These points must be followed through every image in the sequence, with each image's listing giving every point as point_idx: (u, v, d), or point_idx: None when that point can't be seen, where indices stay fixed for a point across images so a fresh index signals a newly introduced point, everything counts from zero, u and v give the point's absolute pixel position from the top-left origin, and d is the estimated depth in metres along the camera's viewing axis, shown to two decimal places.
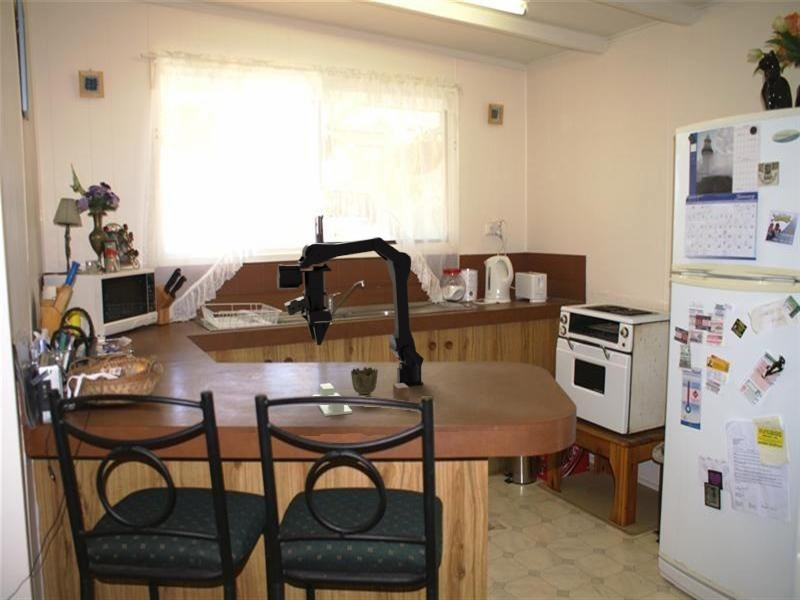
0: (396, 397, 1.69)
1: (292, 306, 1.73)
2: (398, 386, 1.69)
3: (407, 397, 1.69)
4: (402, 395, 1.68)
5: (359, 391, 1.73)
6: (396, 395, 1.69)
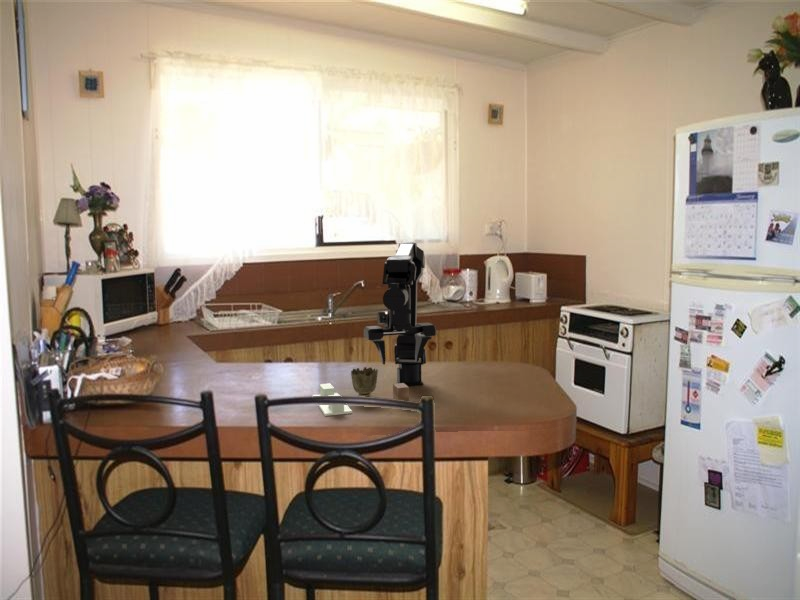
0: (396, 397, 1.69)
1: (377, 318, 1.73)
2: (398, 386, 1.69)
3: (407, 397, 1.69)
4: (402, 395, 1.68)
5: (359, 391, 1.73)
6: (396, 395, 1.69)
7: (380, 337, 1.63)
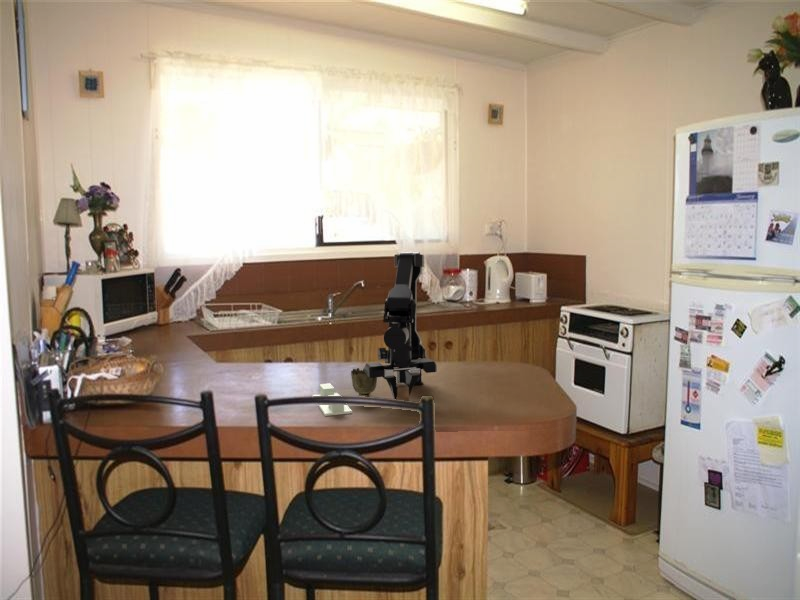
0: None
1: (378, 354, 1.74)
2: (398, 386, 1.69)
3: (407, 397, 1.69)
4: (402, 395, 1.68)
5: (359, 391, 1.73)
6: None
7: (381, 374, 1.65)
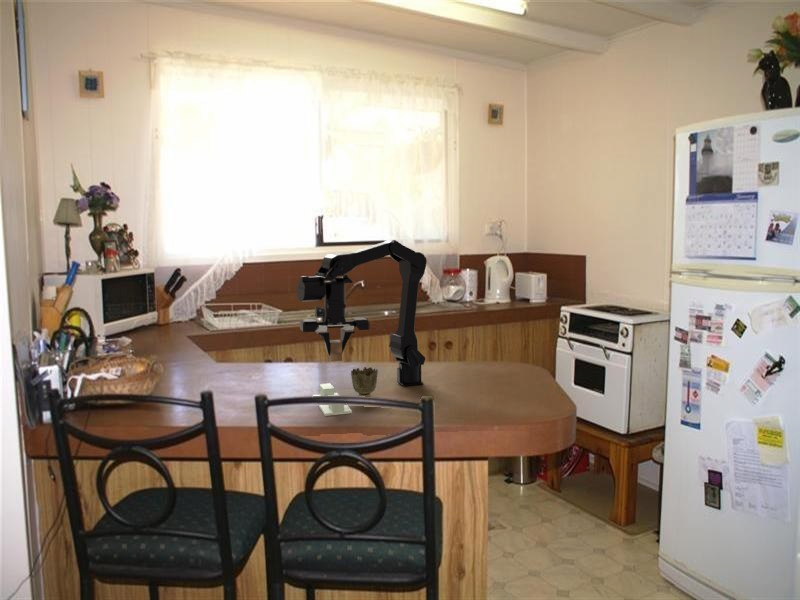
0: (330, 352, 1.76)
1: (315, 312, 1.81)
2: (332, 342, 1.76)
3: (340, 352, 1.75)
4: (335, 350, 1.75)
5: (359, 391, 1.73)
6: (330, 350, 1.76)
7: (314, 329, 1.72)
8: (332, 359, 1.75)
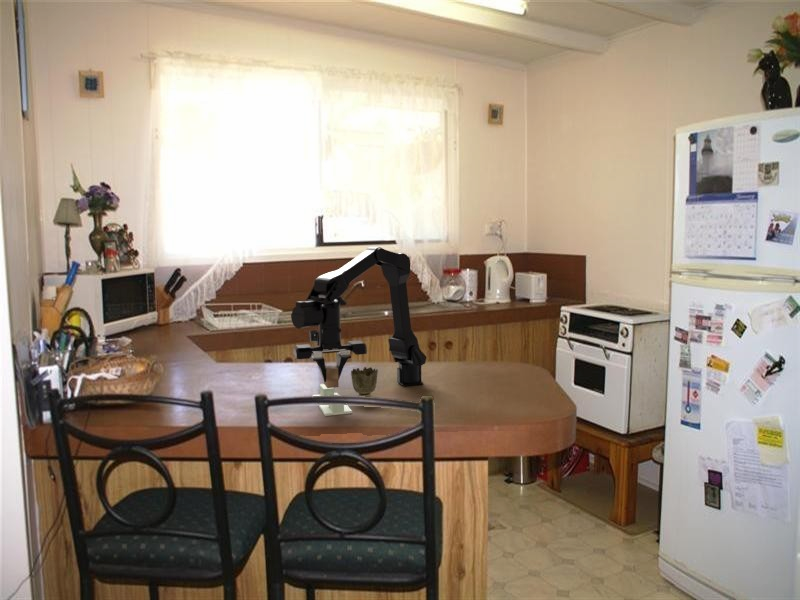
0: (326, 378, 1.68)
1: (309, 336, 1.73)
2: (328, 368, 1.68)
3: (336, 379, 1.67)
4: (331, 377, 1.67)
5: (359, 391, 1.73)
6: None
7: (308, 356, 1.63)
8: (328, 386, 1.67)
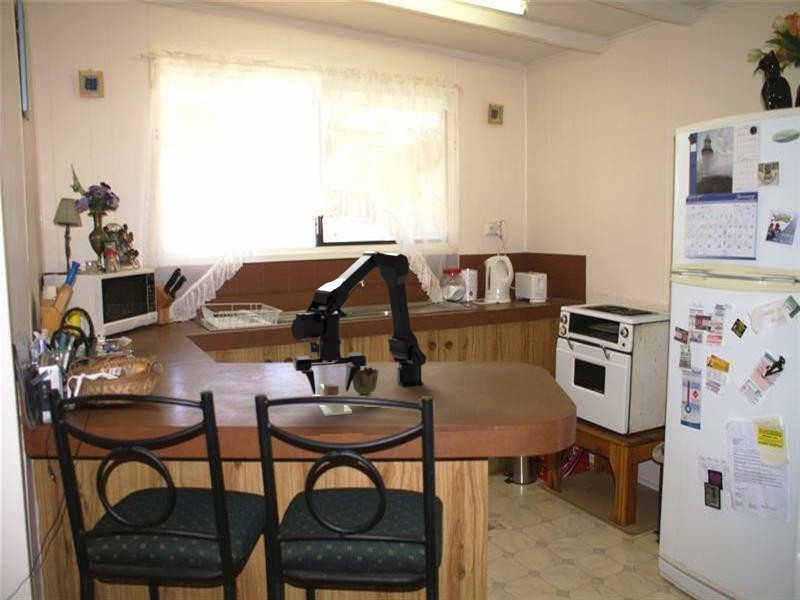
0: None
1: (309, 347, 1.73)
2: (328, 385, 1.68)
3: None
4: (332, 394, 1.67)
5: (359, 391, 1.73)
6: (326, 394, 1.69)
7: (308, 368, 1.64)
8: None
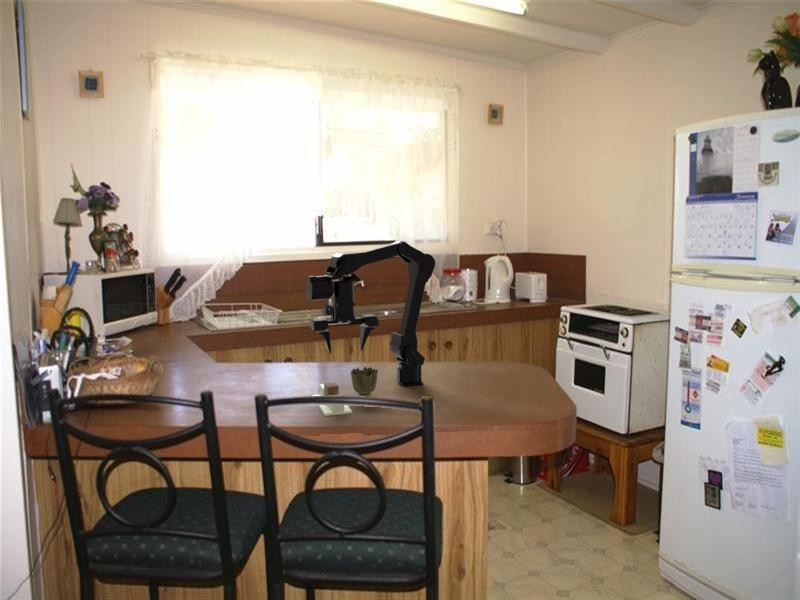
0: None
1: (324, 311, 1.84)
2: (328, 385, 1.68)
3: None
4: (332, 394, 1.67)
5: (359, 391, 1.73)
6: (326, 394, 1.69)
7: (325, 328, 1.75)
8: None
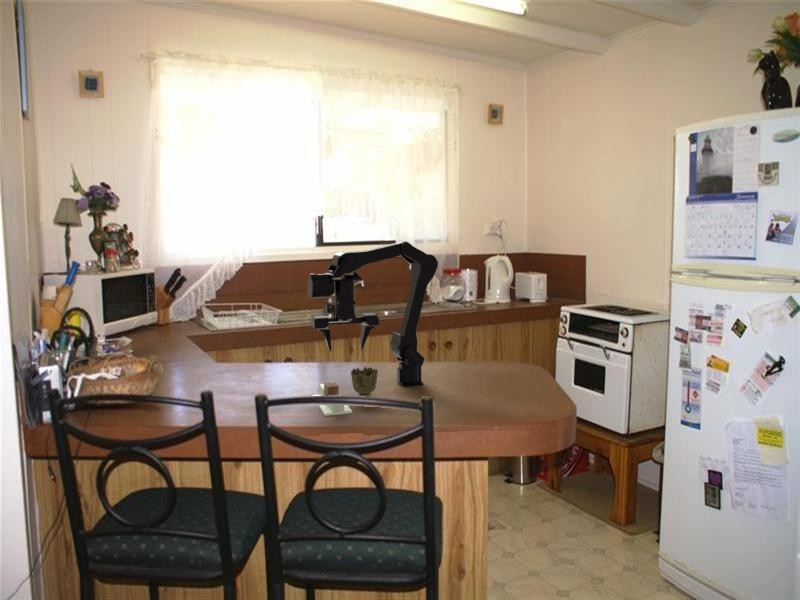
0: None
1: (325, 309, 1.86)
2: (328, 385, 1.68)
3: None
4: (332, 394, 1.67)
5: (359, 391, 1.73)
6: (326, 394, 1.69)
7: (325, 326, 1.76)
8: None
